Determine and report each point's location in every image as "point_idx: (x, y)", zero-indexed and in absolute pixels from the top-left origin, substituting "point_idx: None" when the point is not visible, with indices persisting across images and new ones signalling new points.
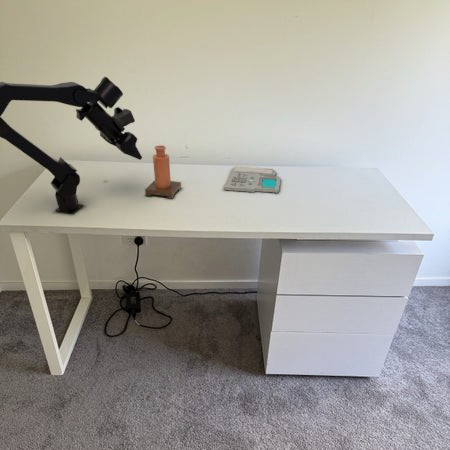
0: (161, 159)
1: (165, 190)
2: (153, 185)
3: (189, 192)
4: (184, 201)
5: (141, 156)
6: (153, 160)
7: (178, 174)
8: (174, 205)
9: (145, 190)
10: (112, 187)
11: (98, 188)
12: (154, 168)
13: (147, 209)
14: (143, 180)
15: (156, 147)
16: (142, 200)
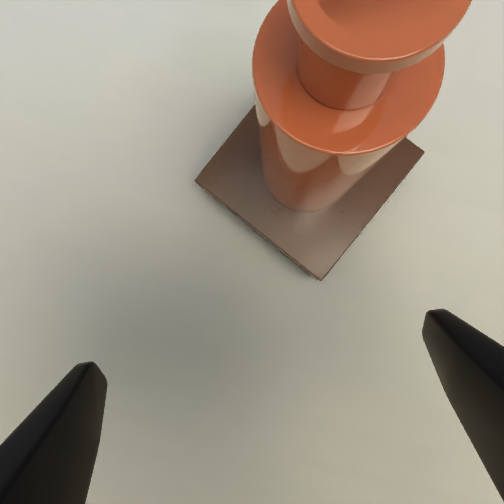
0: (439, 85)
1: (384, 176)
2: (283, 219)
3: None
4: (458, 114)
5: (461, 320)
6: (345, 166)
7: (94, 29)
8: (487, 177)
9: (322, 279)
10: (133, 411)
11: (118, 483)
12: (336, 185)
13: (482, 318)
14: (103, 231)
15: (382, 30)
16: (362, 310)
